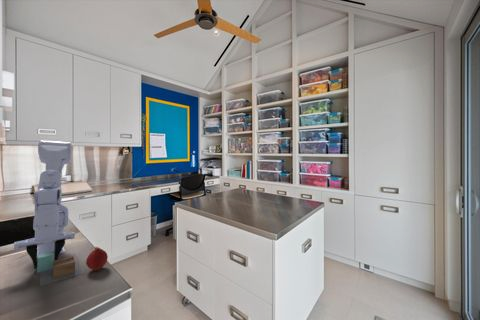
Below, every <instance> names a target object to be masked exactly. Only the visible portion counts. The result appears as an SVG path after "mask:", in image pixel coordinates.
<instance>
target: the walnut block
mask: <svg viewBox="0 0 480 320" xmlns="http://www.w3.org/2000/svg"><path fill="white" fill-rule="evenodd" d="M75 263H76V260H75V258H74V256H73V255H72V256H69V257H63V258H60V259H59V258H58V259H57V260H55V261H53V277H54V278H57V277H60V276H64V275H67V274H71V273H74V272H75Z"/></svg>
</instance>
